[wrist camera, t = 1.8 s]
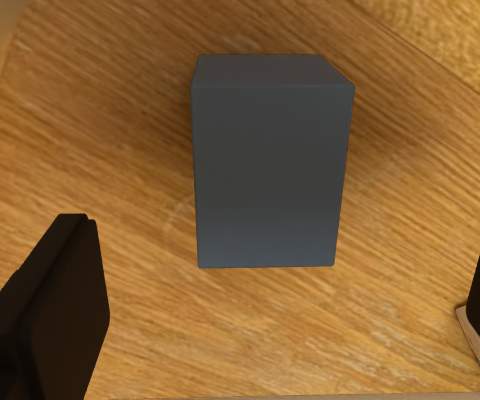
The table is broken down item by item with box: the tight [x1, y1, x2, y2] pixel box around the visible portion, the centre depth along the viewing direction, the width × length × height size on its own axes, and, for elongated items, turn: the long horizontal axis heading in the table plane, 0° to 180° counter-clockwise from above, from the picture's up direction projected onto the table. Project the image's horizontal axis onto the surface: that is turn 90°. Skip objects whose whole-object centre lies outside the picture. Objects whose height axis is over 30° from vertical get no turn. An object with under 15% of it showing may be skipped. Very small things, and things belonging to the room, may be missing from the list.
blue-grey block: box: [190, 55, 355, 268], centre depth 16 cm, size 6×4×5 cm
